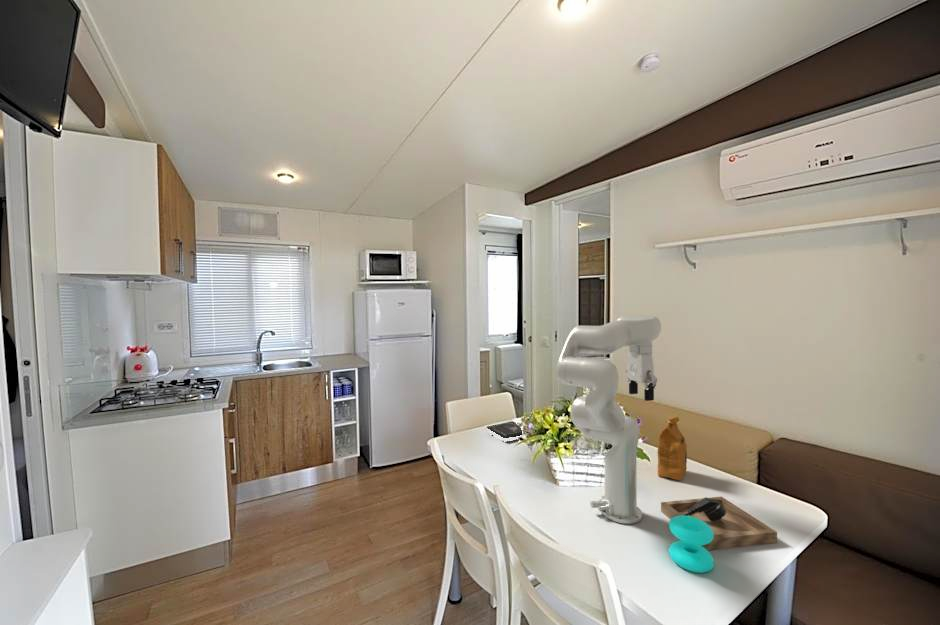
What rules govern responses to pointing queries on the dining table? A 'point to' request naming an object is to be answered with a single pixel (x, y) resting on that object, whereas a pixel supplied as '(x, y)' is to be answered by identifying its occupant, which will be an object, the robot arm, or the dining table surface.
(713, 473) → the dining table surface
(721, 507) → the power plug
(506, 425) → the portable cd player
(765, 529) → the wooden tray
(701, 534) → the donuts
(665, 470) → the coffee package
